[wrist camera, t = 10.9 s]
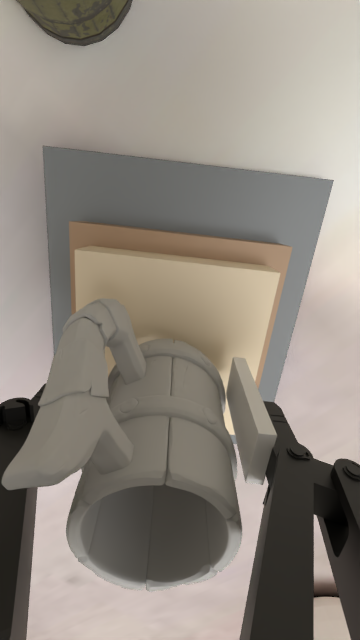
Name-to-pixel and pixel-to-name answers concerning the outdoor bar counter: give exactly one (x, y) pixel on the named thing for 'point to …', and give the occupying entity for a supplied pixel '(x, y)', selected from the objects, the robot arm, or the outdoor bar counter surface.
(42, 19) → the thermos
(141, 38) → the outdoor bar counter surface
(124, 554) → the mug
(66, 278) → the plinth board
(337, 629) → the bowl
